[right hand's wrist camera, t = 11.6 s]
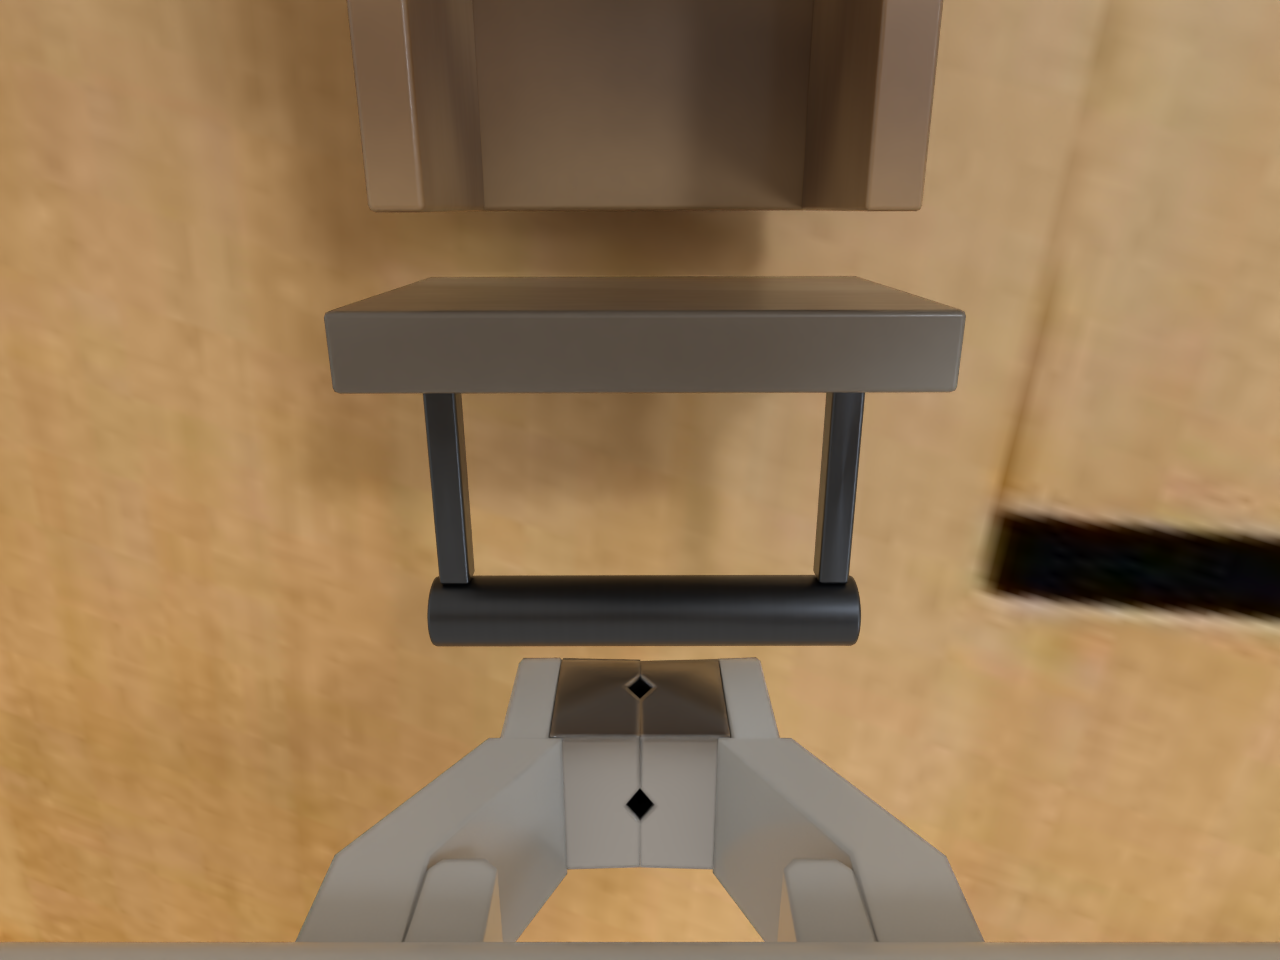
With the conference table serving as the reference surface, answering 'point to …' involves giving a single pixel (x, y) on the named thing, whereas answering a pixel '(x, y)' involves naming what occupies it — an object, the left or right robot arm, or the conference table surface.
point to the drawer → (644, 306)
